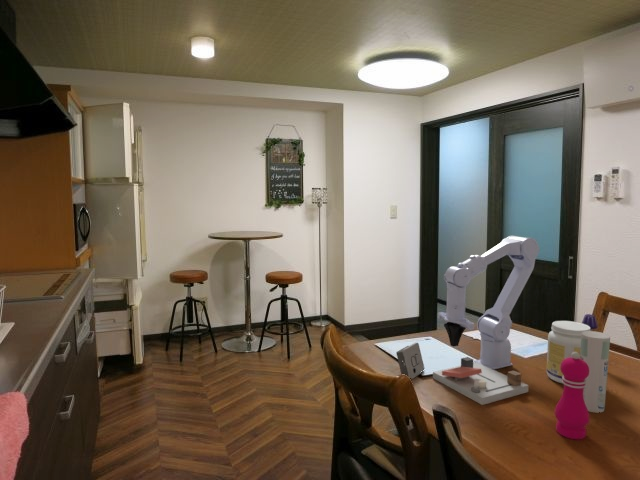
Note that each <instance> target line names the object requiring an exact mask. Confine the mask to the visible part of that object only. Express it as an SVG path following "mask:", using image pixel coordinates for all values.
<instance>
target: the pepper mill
mask: <svg viewBox="0 0 640 480" xmlns="http://www.w3.org/2000/svg"><path fill="white" fill-rule="evenodd" d="M579 358H580V355H579V353H578V352H573V353H572V354H571V357H569V358H566V359H564V360H563V361H562V363H561V366H560V370H561V372H562V374H563V375H564V376H562V383H561V384H562V385H563V390H562V393H561V397H560V399H559V400H558V402H557V403H556V406H555V409H554V416H555V418H556V419H557V421H556V423H555V424H556V427H555V429H556V432H557V433H558V434H559V435H560V436H563V437H565V438H567V439H571V440H583V439H584V438H586V436H587V429H586V426H587V425H588V424H589V422H590V413H589V411H588V409H587V407H586V405H585V402H584V398H583V389H584V387H586V380H585V378H587V377H588V375H589V367H588V365H587V363H586V362H585V361H583V360H582V359H579Z"/></svg>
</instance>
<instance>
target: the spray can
mask: <svg viewBox="0 0 640 480" xmlns="http://www.w3.org/2000/svg"><path fill="white" fill-rule="evenodd" d="M610 344H611V336H610V335H608V334H607V333H605V332H600V331H584V332H582V333H581V351H580V359H582V360H583V361H585V362H586V363H587V365H588V367H589V375H588V377H587V378H585V380H586V387H584V389H583V398H584V402H585V405H586V407H587V409H588V413H589V412H590V413H597V414H599V412H600V413H603V412H605V408H606V407H605V406H606V395H607V385H608V383H607V382H608V381H607V380H608V370H609V369H608V368H609V359H610Z"/></svg>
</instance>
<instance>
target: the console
mask: <svg viewBox="0 0 640 480" xmlns="http://www.w3.org/2000/svg"><path fill="white" fill-rule="evenodd" d="M458 367H461V365H459V366H453V367H449V368H445V369H439V370H436V371H432V379H434V380H435V381H437V382H439V383H441V384H443V385H444V386H446V387H448V388H449V389H452V390H453V391H456V392H458V393H459V394H460V395H463V396H465V397H467V398H469V399H471V400H473V401H474V402H476V403H478V404H480V405H481V406H484V405H488V404H491V403H494V402H497V401H501V400H505V399H508V398H512V397H515V396H519V395H522V394H525V393H529V384H527V383H524V382H522V381H521V385H518V386H513V385H511V384H509V383H507V376H508V375H507V374H504V373H502V372H500V371H497V370H496V369H494V370H493V369H491V368H488V367H486V366H484V365H482V364H479V363H477V362H473V368H478V369H481V370H482V373H480V374H476V375H472V376H468V377H463V378H458V377H451V376H444V375H442V371H445V370H449V369H454V368H458Z"/></svg>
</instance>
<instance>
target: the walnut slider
mask: <svg viewBox="0 0 640 480" xmlns="http://www.w3.org/2000/svg"><path fill="white" fill-rule="evenodd" d="M506 376H507V383H509V384H511V385H513V386H518V385H521V382H522V373H520V372H518V371H515V370H510V371H507V375H506Z"/></svg>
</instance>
